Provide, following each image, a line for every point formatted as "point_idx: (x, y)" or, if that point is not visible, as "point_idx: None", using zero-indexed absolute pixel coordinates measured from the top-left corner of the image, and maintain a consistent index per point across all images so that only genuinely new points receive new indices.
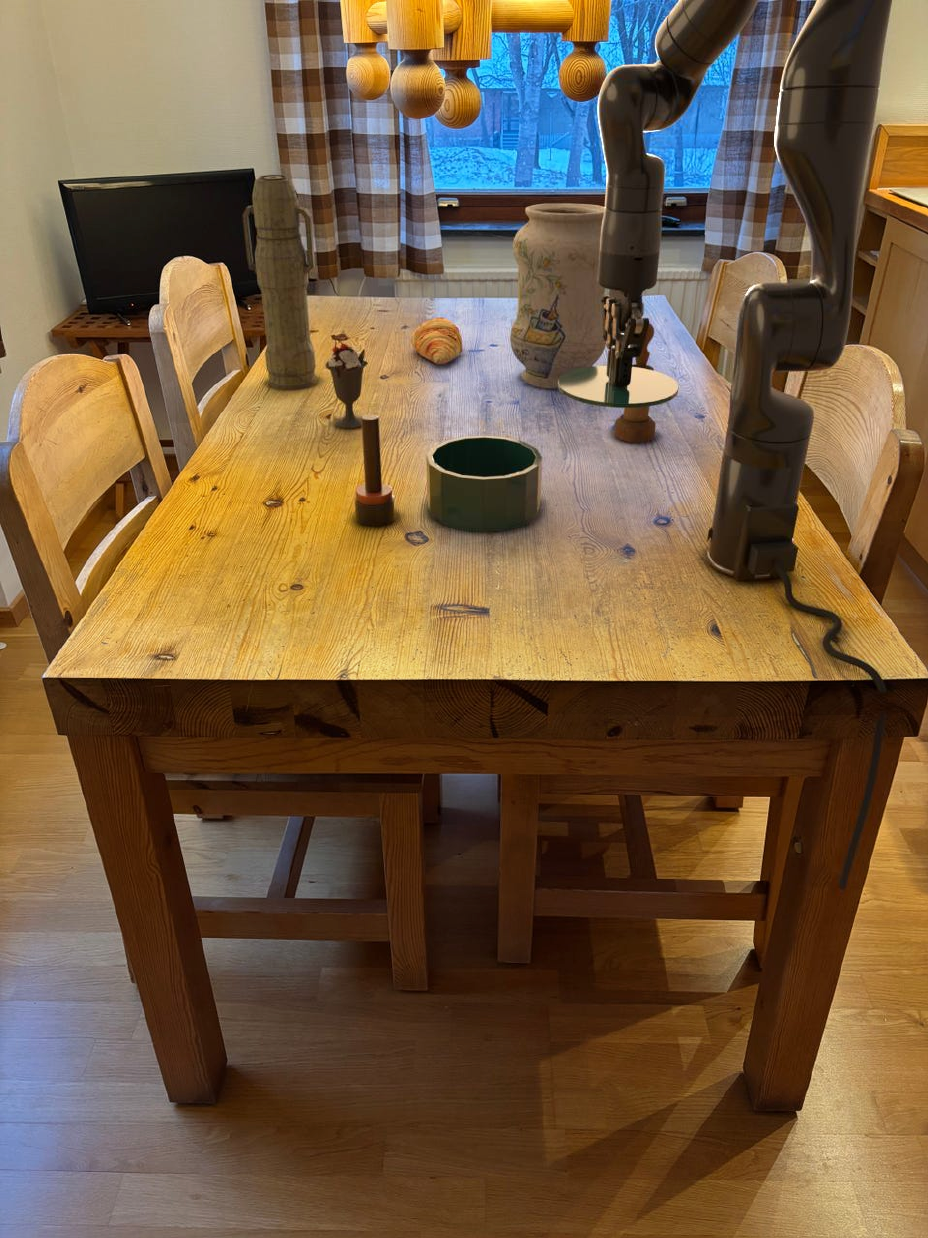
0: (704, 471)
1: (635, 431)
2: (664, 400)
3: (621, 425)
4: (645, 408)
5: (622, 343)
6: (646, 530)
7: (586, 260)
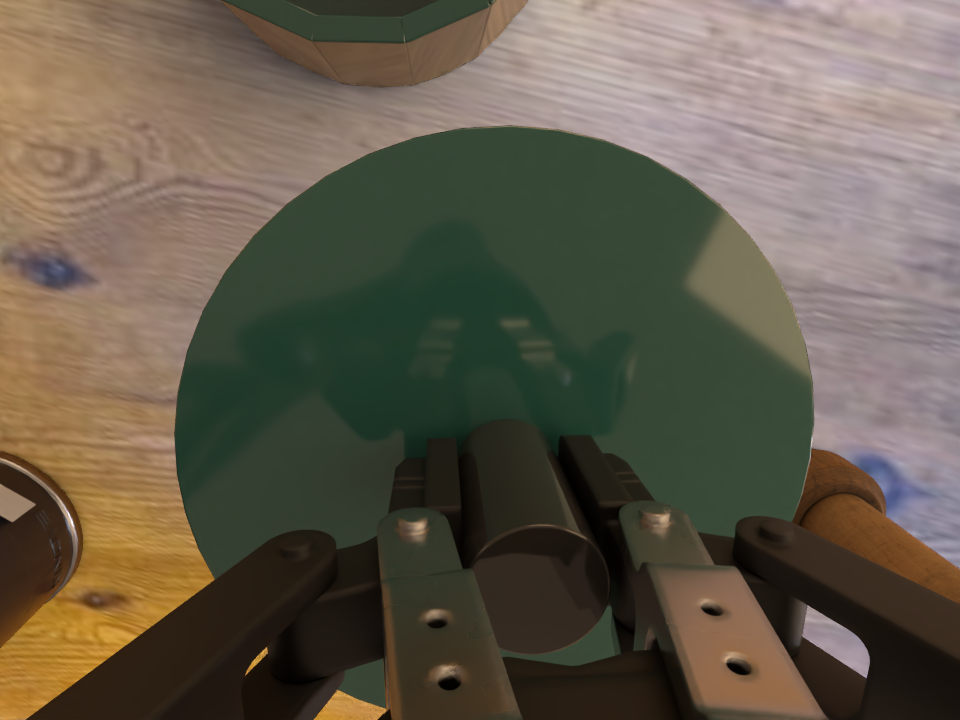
0: None
1: None
2: None
3: (812, 476)
4: None
5: (260, 603)
6: (178, 354)
7: None
